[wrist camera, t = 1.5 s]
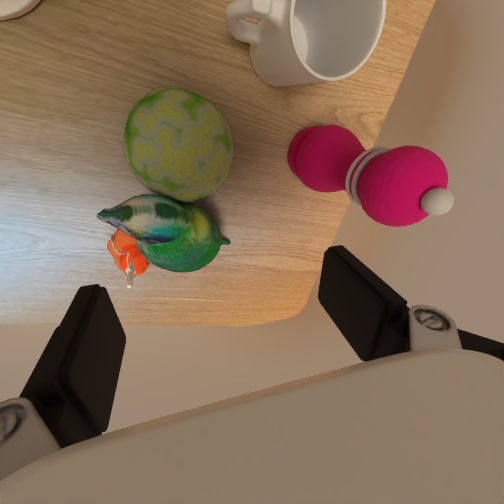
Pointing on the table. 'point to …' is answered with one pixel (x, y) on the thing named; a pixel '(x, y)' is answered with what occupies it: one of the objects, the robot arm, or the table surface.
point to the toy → (167, 231)
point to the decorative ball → (178, 144)
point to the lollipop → (127, 255)
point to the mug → (307, 37)
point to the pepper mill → (372, 175)
